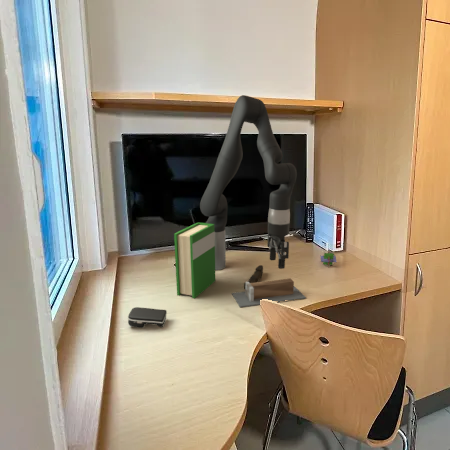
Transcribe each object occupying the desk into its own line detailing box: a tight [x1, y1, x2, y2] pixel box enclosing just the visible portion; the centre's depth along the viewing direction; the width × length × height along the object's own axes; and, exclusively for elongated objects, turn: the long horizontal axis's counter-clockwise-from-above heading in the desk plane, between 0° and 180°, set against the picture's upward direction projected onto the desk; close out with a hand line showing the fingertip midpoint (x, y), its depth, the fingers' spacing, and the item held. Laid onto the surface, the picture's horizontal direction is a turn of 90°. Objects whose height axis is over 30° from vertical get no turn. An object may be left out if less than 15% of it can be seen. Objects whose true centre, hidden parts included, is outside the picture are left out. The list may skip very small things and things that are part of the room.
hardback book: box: [173, 222, 216, 299], centre depth 140 cm, size 18×7×24 cm, turn 155°
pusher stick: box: [244, 278, 295, 302], centre depth 134 cm, size 6×17×5 cm, turn 104°
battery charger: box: [127, 306, 168, 329], centre depth 116 cm, size 7×4×11 cm
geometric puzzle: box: [320, 250, 337, 268], centre depth 163 cm, size 7×7×8 cm
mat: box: [231, 285, 307, 308], centre depth 134 cm, size 11×25×1 cm, turn 104°
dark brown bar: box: [243, 264, 264, 290], centre depth 147 cm, size 19×4×5 cm, turn 156°
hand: (276, 264), depth 132 cm, fingers open, 8 cm apart
